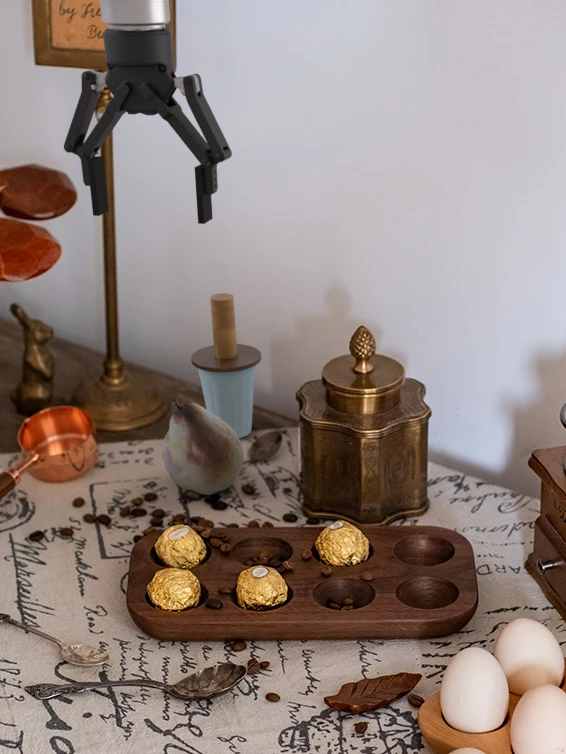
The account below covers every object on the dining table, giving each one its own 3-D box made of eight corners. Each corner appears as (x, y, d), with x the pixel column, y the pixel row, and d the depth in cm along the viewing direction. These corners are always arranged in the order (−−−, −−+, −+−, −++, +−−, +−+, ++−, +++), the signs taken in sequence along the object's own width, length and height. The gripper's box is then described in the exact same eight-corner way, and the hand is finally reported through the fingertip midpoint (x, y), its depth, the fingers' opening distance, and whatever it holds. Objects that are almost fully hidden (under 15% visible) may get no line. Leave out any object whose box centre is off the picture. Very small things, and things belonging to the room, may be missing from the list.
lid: (180, 369, 143) (174, 305, 139) (207, 345, 151) (202, 283, 147) (247, 375, 141) (242, 310, 137) (270, 350, 149) (267, 288, 145)
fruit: (151, 483, 137) (141, 394, 132) (213, 461, 143) (206, 374, 137) (198, 512, 131) (190, 419, 125) (261, 487, 136) (256, 397, 131)
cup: (219, 416, 155) (213, 346, 150) (268, 424, 153) (264, 353, 148) (193, 438, 149) (186, 365, 144) (244, 446, 147) (239, 373, 142)
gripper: (253, 27, 124) (260, 217, 134) (52, 20, 129) (73, 203, 139) (229, 33, 118) (239, 232, 128) (18, 25, 123) (43, 217, 133)
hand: (152, 217), depth 133 cm, fingers open, 13 cm apart
